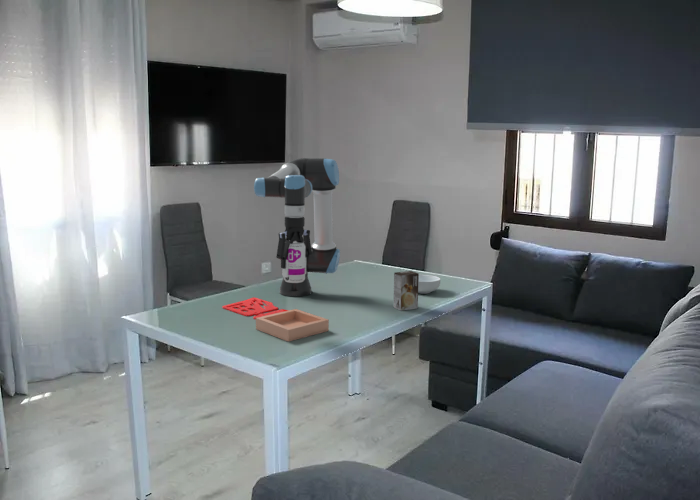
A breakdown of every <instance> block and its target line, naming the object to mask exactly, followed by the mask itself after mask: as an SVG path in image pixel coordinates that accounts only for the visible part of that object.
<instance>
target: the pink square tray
mask: <svg viewBox="0 0 700 500" xmlns="http://www.w3.org/2000/svg"><path fill="white" fill-rule="evenodd" d="M329 325H330V321H329V319H328V318H325V317H322V316H319V315H315V314H312V313H309V312H306V311H303V310H300V309H297V308H294V309H289V311H284V312H280V313H276V314H271V315H267V316H262V317H258V318H256V320H255V330H257V331H260V332H261V333H262V332H263V333H265V334H267V335H270V336H271V337H275V338H277V339H278V338H279V340H282V341H286V342H293V341H296V340H299V339H305V338H306V337H307V338H308V337H311V336H314V335H319V334H321V333H322V334H323V333H326V332H328V331H329V330H330V329H329Z"/></svg>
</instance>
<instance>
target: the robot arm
mask: <svg viewBox="0 0 700 500" xmlns="http://www.w3.org/2000/svg"><path fill="white" fill-rule="evenodd" d="M339 184H340V171H339V166H338V162H337V161H336V160H335V159H332V158H318V157H317V158H311V157H309V158H308V157H307V158H305V157H302V158H296V159H292V160H290V161H288V162H286V163H284V164H283V165H281V167H280V168H279V170H277V171H276V172H274V173H272V174H271V175H270V176H268V177H257V178H255V180H254V184H253V191H254V195H255V196H256V197H260V198H283V199H284V216H285V217H284V227H285V230H284V231H283V232H279V233H278V243H277V244H278V245H277V251H276V257H275V258H276V259H279V260H280V269H281V273H282V275H281V276H282V280H281V283H280V287H279V294H280V295H282V296H285V297H286V296H287V297H304V296H309V295H311V294H312V287H311V283H310V280H309V273H316V274H317V273H318V274H334V273H335V274H336V273H337V270H338V267H339V263H340V258H341V256H340V255H341V249H339V248H337V244H336V243H335V242H334V230H333V229H334V226H333V225H334V224H333V222H334V221H333V217H334V215H333V208H334V207H333V192H334V191H335V190H336V189H337V188H336V187H337V186H338V185H339ZM311 193H312V194H313V224H314V225H313V227H314V228H313V230H314V231H313V232H314V233H313V234H314V242H313V243H311V238H310V235H311V230H309V229H304V227H305V221H306V220H305V217H304V216H305V212H306V211H305V207H306V205H305V202H306V201H305V200H306V198H308V197H309V196H310V195H311ZM294 241H297V242H300V243H303V242H304V245H305V280H304V281H303V282H300V283H289V282H286V281H285V280H284V277H288V260H286V259H287V257H288V254H289V246H290V244H293V242H294Z"/></svg>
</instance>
